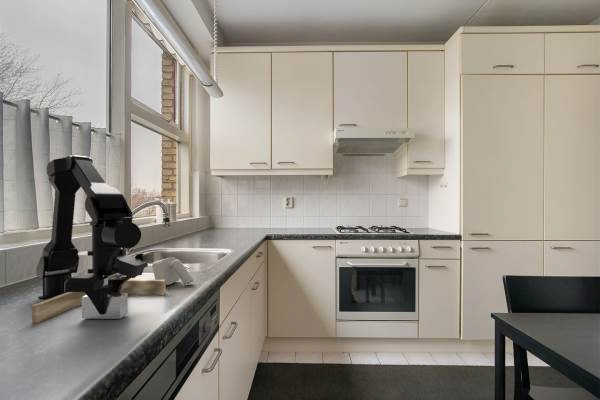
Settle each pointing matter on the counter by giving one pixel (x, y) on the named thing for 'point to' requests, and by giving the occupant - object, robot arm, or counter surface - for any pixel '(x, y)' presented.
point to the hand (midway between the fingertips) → (107, 311)
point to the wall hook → (171, 271)
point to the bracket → (114, 307)
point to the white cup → (83, 263)
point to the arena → (74, 299)
